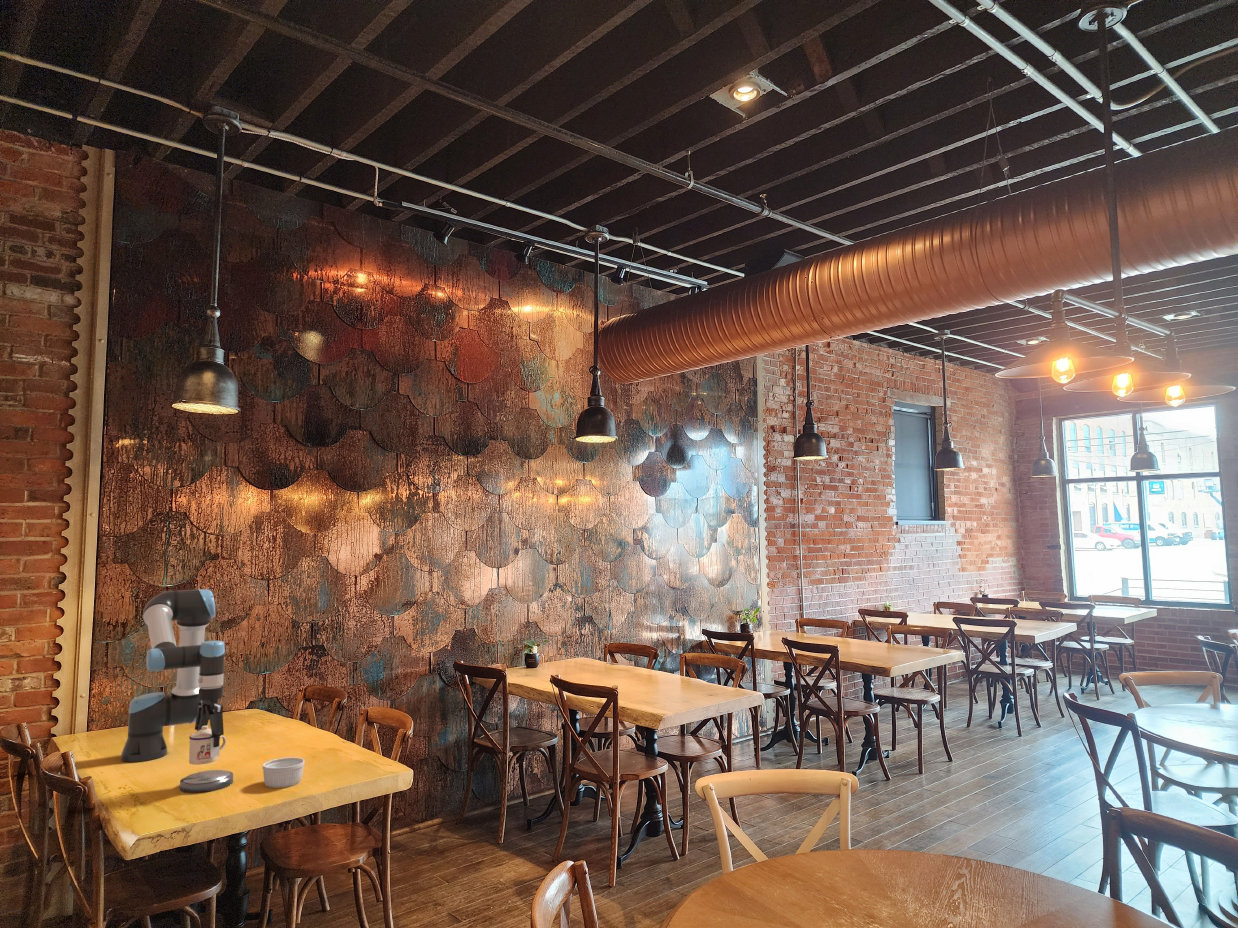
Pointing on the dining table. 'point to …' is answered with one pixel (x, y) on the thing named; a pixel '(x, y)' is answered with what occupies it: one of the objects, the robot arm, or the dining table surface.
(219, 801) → the dining table surface
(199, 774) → the dark gray round plate
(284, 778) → the ramekin
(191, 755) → the teacup with lid
